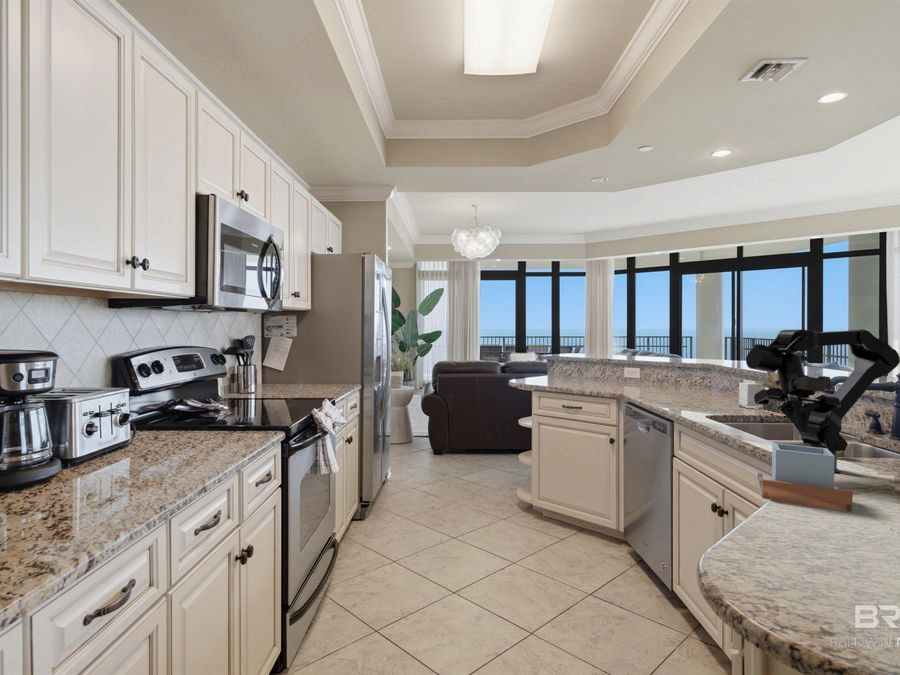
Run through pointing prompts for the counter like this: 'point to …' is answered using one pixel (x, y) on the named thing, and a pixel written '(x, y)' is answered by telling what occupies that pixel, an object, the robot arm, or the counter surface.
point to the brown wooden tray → (806, 494)
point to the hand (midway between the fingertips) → (803, 432)
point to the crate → (803, 465)
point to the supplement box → (748, 393)
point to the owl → (771, 383)
